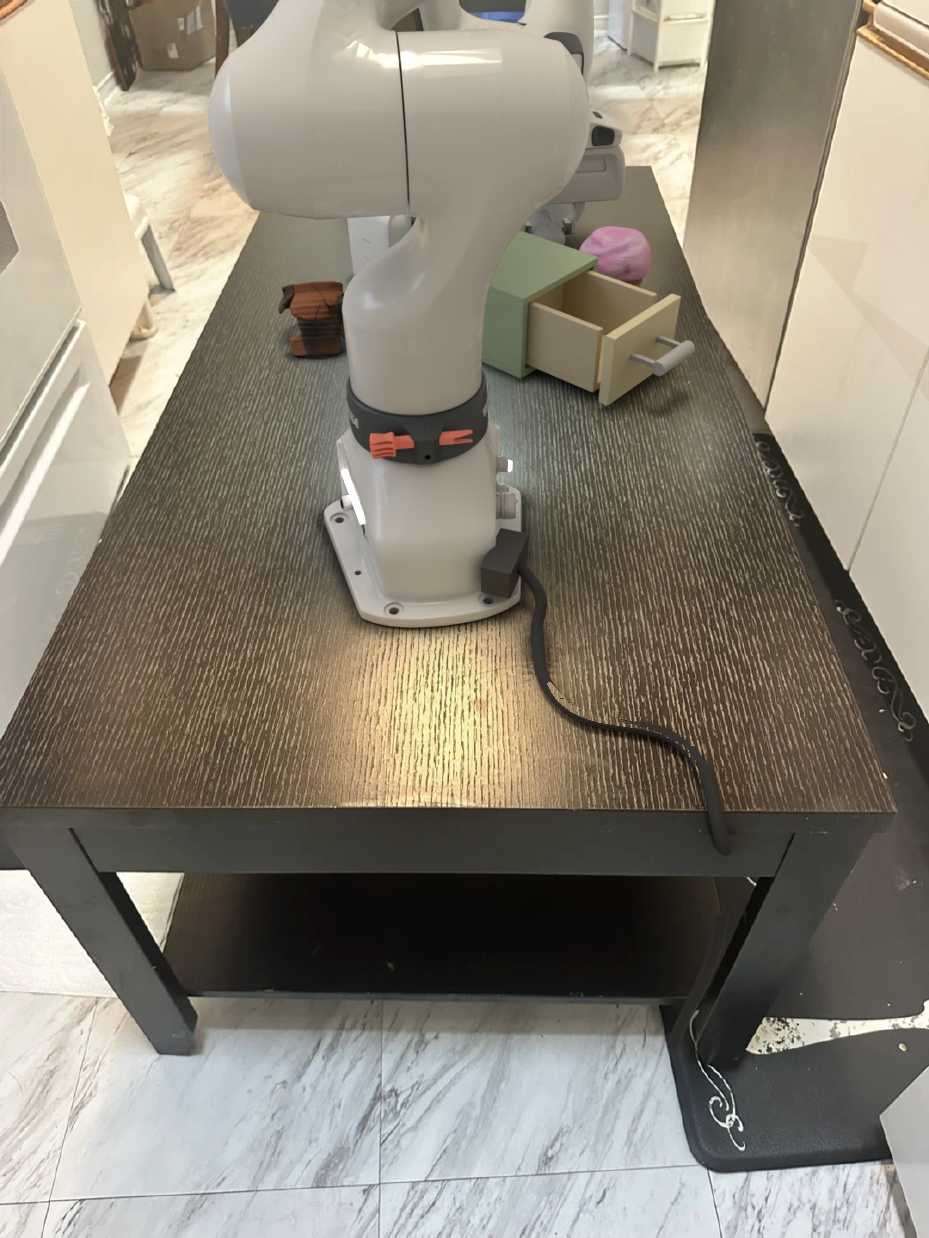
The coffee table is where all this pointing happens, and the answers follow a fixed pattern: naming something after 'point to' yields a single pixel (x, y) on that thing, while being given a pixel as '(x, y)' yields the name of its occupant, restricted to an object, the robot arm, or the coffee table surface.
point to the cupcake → (620, 253)
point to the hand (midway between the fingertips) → (547, 234)
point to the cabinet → (524, 295)
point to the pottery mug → (315, 316)
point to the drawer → (603, 334)
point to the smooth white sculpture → (546, 227)
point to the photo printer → (374, 236)
